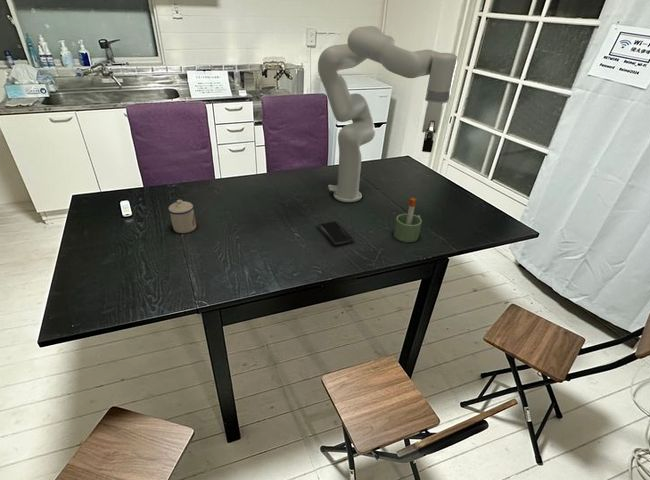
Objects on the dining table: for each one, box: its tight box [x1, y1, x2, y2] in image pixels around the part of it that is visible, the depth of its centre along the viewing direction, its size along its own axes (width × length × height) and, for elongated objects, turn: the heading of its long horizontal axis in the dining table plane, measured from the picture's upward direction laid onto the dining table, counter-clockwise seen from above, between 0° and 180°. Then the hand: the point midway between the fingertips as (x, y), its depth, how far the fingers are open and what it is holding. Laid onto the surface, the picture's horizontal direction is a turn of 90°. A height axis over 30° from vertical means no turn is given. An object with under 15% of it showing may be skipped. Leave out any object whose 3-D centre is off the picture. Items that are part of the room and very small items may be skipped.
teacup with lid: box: [168, 199, 197, 234], centre depth 145 cm, size 12×9×12 cm
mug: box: [393, 213, 423, 243], centre depth 143 cm, size 12×9×7 cm
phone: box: [318, 220, 353, 247], centre depth 144 cm, size 8×1×15 cm
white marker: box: [406, 197, 417, 225], centre depth 139 cm, size 2×2×14 cm
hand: (427, 147), depth 135 cm, fingers open, 9 cm apart
